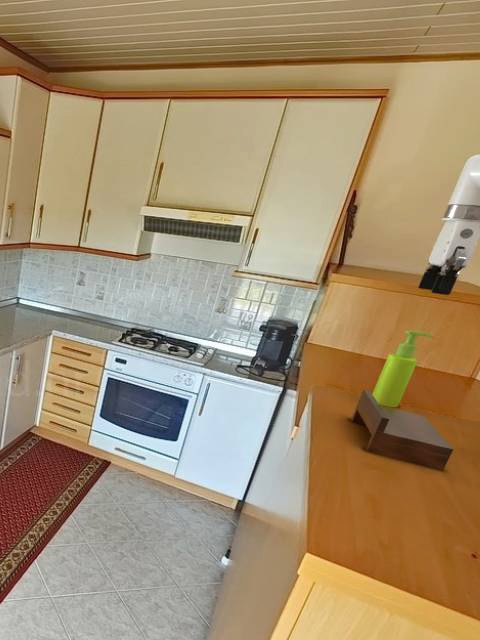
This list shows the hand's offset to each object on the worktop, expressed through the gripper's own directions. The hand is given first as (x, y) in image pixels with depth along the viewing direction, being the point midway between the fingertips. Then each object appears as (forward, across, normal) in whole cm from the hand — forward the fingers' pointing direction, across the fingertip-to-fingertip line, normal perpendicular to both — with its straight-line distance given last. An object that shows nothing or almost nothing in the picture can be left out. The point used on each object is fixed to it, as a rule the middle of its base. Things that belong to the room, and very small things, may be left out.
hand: (432, 291), depth 115 cm
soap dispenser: (+31, +6, -2) cm, 31 cm away
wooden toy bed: (+31, -27, +3) cm, 41 cm away
